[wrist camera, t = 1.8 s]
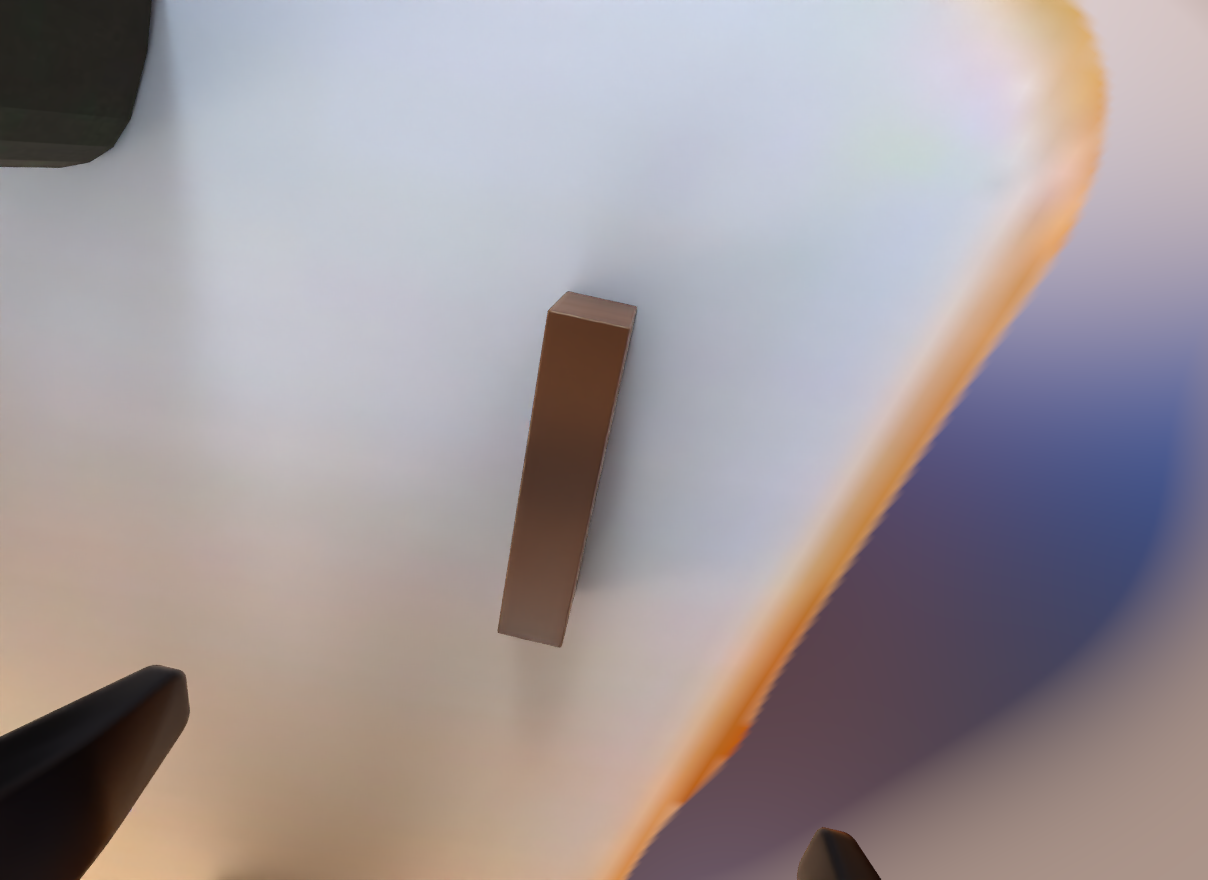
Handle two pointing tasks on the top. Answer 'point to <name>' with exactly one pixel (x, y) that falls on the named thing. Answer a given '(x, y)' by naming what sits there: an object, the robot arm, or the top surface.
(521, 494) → the brown rectangular bar
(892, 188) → the top surface
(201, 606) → the top surface
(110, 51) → the sushi
